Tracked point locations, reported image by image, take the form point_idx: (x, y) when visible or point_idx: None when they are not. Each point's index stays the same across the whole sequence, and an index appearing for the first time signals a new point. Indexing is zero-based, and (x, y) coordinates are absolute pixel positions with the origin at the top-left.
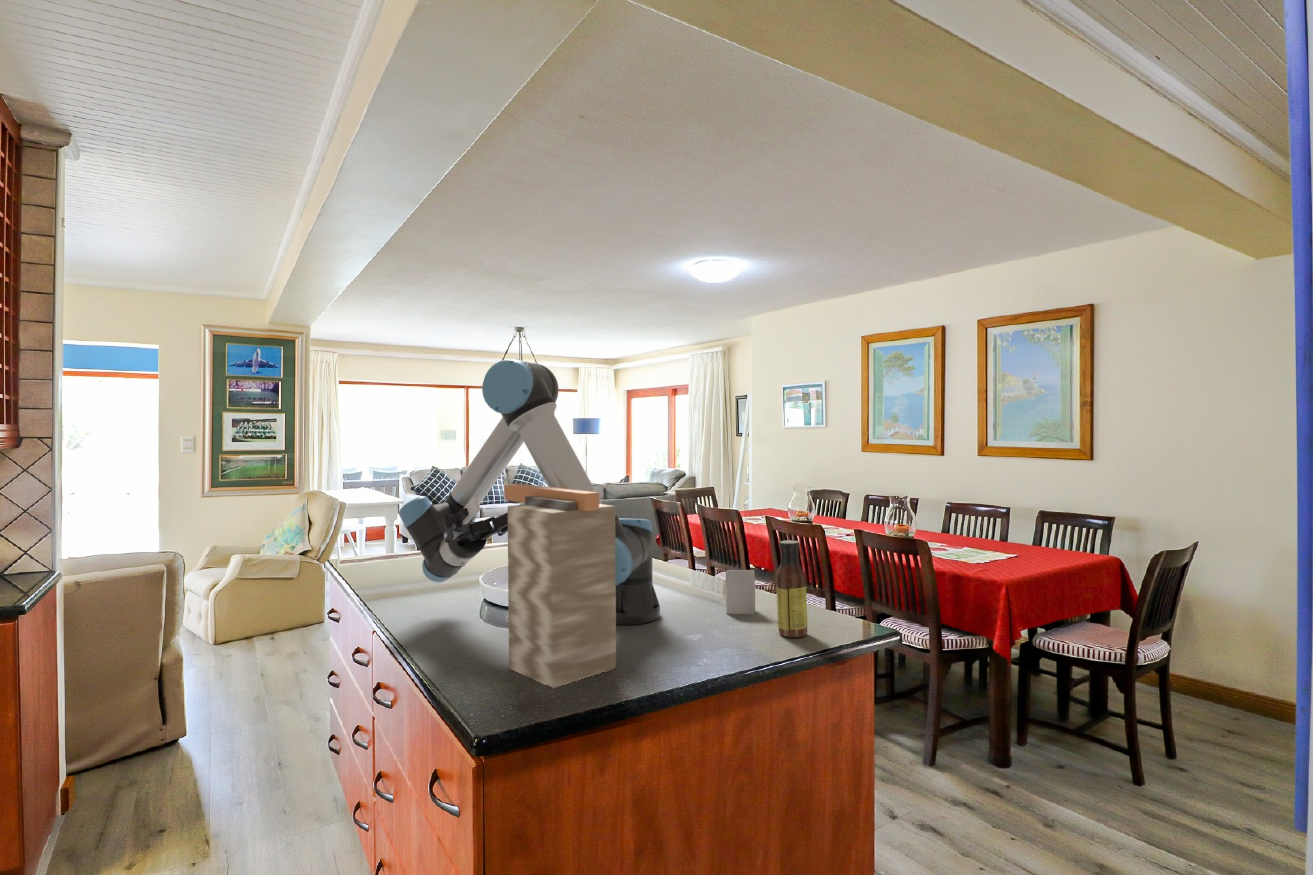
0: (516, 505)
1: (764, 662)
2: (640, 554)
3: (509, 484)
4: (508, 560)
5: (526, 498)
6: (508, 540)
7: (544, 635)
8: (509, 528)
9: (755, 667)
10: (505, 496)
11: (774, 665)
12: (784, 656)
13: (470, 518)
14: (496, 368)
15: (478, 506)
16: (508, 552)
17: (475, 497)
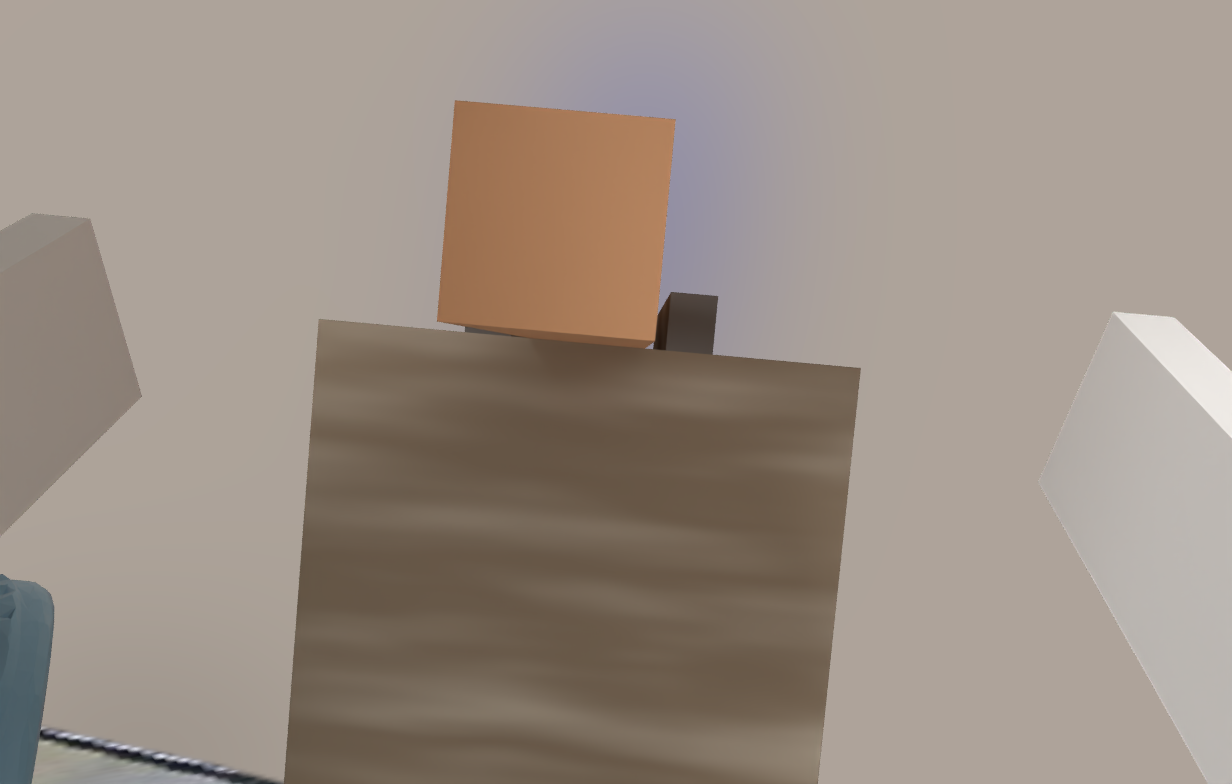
0: (789, 362)
1: (131, 770)
2: None
3: (602, 119)
4: (819, 747)
5: (714, 310)
6: (833, 608)
7: None
8: (838, 520)
9: (186, 771)
10: (657, 294)
11: (151, 753)
12: (56, 757)
13: (1209, 729)
14: None
15: (1074, 441)
16: (824, 692)
17: (1138, 315)
